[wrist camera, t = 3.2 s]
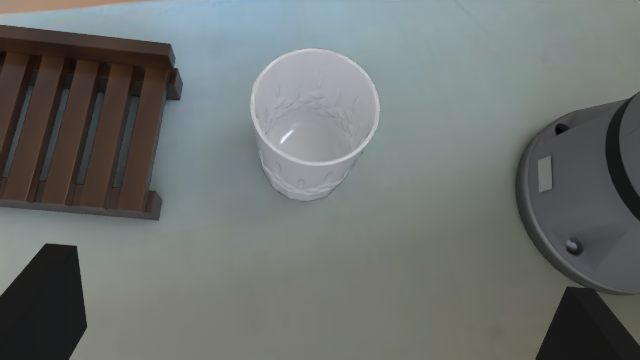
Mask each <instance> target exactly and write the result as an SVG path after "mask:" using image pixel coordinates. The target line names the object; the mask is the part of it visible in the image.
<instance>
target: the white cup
mask: <svg viewBox="0 0 640 360" xmlns="http://www.w3.org/2000/svg"><path fill="white" fill-rule="evenodd" d="M250 110H251V116H252V121H253V127H254V133H255V138H256V143H257V148H258V152H259V156H260V159H261V162H262V165H263V171H264V173H265V174H266V176H267V178H268V180H269V182H270V183H271V185H272V187H273V188H275V189H276V190H277V191H279V192H280V193H282V194H283V195H285V196H286V197H287V198H291V199H296V200H302V201H311V200H315V199H319V198H323V197H326V196H327V195H328V194H330V193H331V192H332V191H333V190H334V189H335V188H337V187H338V186H339V185H340V184H341V182H342V180H343V179H344V178H345V177H346V176H347V174H348V173H349V172H350V170H351V169H352V167H353V166H354V165H355V163H356V162H357V160H358V159H359V157H360V155H361V154H362V152H363V151H364V149H365V147H366V146H367V144H368V143H369V141H370V140H371V138H372V137H373V135H374V133H375V131H376V128H377V125H378V122H379V116H380V103H379V97H378V94H377V91H376V88H375V86H374V84H373V82H372V80H371V79H370V77H369V76H368V75H367V73H366V72H365V71H364V70H363V69H362V68H361V67H360V66H359V65H358V64H357V63H355V62H354V61H353V60H351V59H349V58H348V57H346V56H344V55H342V54H340V53H337V52H334V51H331V50H326V49H320V48H304V49H298V50H294V51H290V52H288V53H285V54H283V55H281V56H279V57H277V58H276V59H274V60H273V61H272V62H270V63H269V64H268V65H267V66H266V67H265V68H264V69H263V70H262V71H261V73H260V74H259V76H258V77H257V79H256V81H255V83H254V86H253V89H252V93H251V99H250Z"/></svg>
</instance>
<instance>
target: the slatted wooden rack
mask: <svg viewBox="0 0 640 360" xmlns="http://www.w3.org/2000/svg"><path fill="white" fill-rule="evenodd" d="M174 64H175V56H174V53H173V50H172V47H171V44H167V43H158V42H149V41H141V40H132V39H123V38H114V37H105V36H96V35H87V34H78V33H69V32H60V31H51V30H42V29H33V28H25V27H16V26H7V25H0V207H11V208H23V209H35V210H46V211H58V212H69V213H81V214H93V215H104V216H116V217H128V218H139V219H151V220H159V216H160V210H161V205H162V199H161V198H160V197H159V195H158V194H157V193H156V191H151V190H149V186H150V181H151V176H152V170H153V165H154V160H155V154H156V149H157V144H158V138H159V133H160V128H161V122H162V117H163V112H164V106H165V101H166V99H173V100H180V97H181V91H182V86H183V83H182V80H181V77H180V74H179V71H178V69H177V68H174ZM29 85H34V89H33V92H32V96H31V99H30V102H29V106H28V109H27V113H26V116H25V120H24V123H23V127H22V130H21V134H20V137H19V141H18V144H17V148H16V151H15V155H14V158H13V162H12V165H11V169H10V172H9V176H8V178H7V177H2V175H3V172H4V168H5V165H6V162H7V158H8V155H9V151H10V148H11V144H12V141H13V138H14V134H15V131H16V127H17V124H18V120H19V117H20V114H21V110H22V107H23V103H24V100H25V96H26V93H27V89H28V86H29ZM63 88H67V89H70V92H69V96H68V99H67V103H66V107H65V111H64V115H63V119H62V122H61V126H60V130H59V134H58V138H57V142H56V146H55V149H54V153H53V157H52V161H51V165H50V169H49V173H48V176H47V180H46V181H40V180H39V179H40V175H41V171H42V167H43V164H44V160H45V156H46V152H47V148H48V145H49V141H50V137H51V133H52V130H53V126H54V122H55V118H56V114H57V111H58V107H59V103H60V99H61V96H62V92H63ZM98 92H105V96H104V100H103V105H102V109H101V113H100V117H99V122H98V126H97V130H96V135H95V139H94V143H93V147H92V152H91V156H90V160H89V165H88V169H87V173H86V177H85V182H84V184H76V181H77V177H78V173H79V168H80V164H81V160H82V156H83V152H84V147H85V143H86V139H87V135H88V131H89V127H90V122H91V118H92V114H93V110H94V106H95V101H96V97H97V93H98ZM132 95H134V96H140V100H139V105H138V110H137V114H136V119H135V124H134V129H133V134H132V139H131V143H130V148H129V153H128V158H127V163H126V168H125V172H124V177H123V182H122V187H121V188H117V187H113V183H114V178H115V174H116V169H117V164H118V159H119V155H120V150H121V145H122V141H123V136H124V131H125V127H126V122H127V117H128V112H129V108H130V103H131V98H132Z"/></svg>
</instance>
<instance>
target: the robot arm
mask: <svg viewBox="0 0 640 360" xmlns="http://www.w3.org/2000/svg"><path fill="white" fill-rule="evenodd" d="M516 194H517V202H518V207H519V211H520V214H521V218H522V220H523V223H524V225H525V228H526V230H527V232H528V234H529V236H530V237H531V239H532V240H533V242H534V244H535V245H536V247H537V248H538V249H539V251H540V252H541V253H542V254H543V255H544V257H545V258H546V259H547V260H548V261H549V262H550V263H551V264H552V265H553V266H554V267H555V268H557V269H558V270H559V271H560V272H561V273H563V274H564V275H566V276H567V277H569V278H570V279H571V280H573V281H575V282H577V283H579V284H580V285H583V286H585V287H587V288H577V287H567V288H566V290H565V292H564V295H563V297H562V299H561V301H560V304H559V306H558V308H557V311H556V313H555V315H554V317H553V320H552V322H551V324H550V327H549V329H548V331H547V333H546V336H545V338H544V340H543V343H542V345H541V347H540V350H539V352H538V354H537V356H536V360H640V346H639V345H638V343H637V342H636V341H635V340H634V338H633V337H632V336H631V335H630V333H629V332H628V331H627V330H626V329H625V327H624V326H623V325H622V324H621V322H620V321H619V320H618V319H617V317H616V316H615V315H614V314H613V312H612V311H611V310H610V309H609V308H608V306H607V305H606V304H605V303H604V301H603V300H602V299H601V298H600V296H599V295H598V294H597V293H596V291H598V292H602V293H607V294H613V295H635V294H640V92H638V93H637V94H635V95H634V96H632V97H631V98H629V99H626V100H621V101H617V102H613V103H608V104H604V105H600V106H595V107H591V108H586V109H582V110H578V111H574V112H571V113H568V114H566V115H564V116H562V117H560V118H559V119H557V120H556V121H554V122H553V123H551V124H550V125H549V126H548V127H546V128H545V129H544V130H542V131H541V132H540V133H539V134H537V136H536V137H535V138H534V139H533V140H532V141H531V142H530V144H529V145H528V146H527V148H526V150H525V151H524V153H523V156H522V158H521V161H520V164H519V167H518V172H517V179H516ZM86 328H87V321H86V314H85V306H84V298H83V290H82V283H81V275H80V267H79V260H78V252H77V246H71V245H59V244H47V243H46V244H45V245H44V246H43V247H42V248H41V250H40V251H39V252H38V253H37V254H36V255H35V257H34V258H33V259H32V260H31V261H30V262H29V264H28V265H27V266H26V267H25V268H24V269H23V271H22V272H21V273H20V274H19V275H18V276H17V278H16V279H15V280H14V281H13V282H12V283H11V285H10V286H9V287H8V288H7V289H6V290H5V292H4V293H3V294H2V295H1V296H0V360H69V358H70V356H71V355H72V353H73V351H74V349H75V348H76V346H77V344H78V342H79V341H80V339H81V337H82V335H83V334H84V332H85V330H86Z"/></svg>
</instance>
